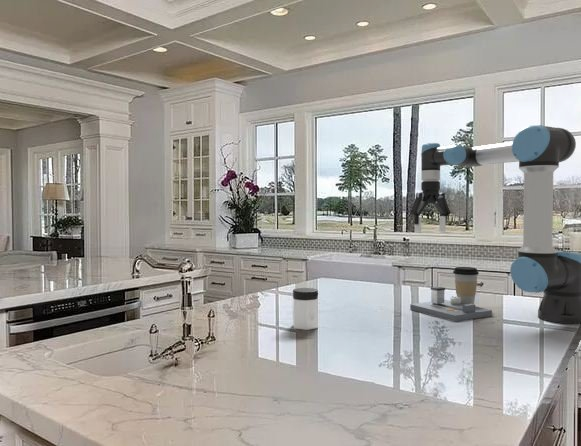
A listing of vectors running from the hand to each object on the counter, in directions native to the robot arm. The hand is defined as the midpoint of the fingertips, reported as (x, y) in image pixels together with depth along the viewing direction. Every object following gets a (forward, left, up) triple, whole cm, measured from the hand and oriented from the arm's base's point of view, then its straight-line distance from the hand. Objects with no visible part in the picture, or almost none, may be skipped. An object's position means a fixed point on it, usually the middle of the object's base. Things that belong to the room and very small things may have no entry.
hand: (430, 232), depth 204 cm
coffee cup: (-19, 0, -28) cm, 34 cm away
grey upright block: (-17, +13, -26) cm, 33 cm away
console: (-23, +13, -28) cm, 38 cm away
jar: (-16, +69, -28) cm, 76 cm away
